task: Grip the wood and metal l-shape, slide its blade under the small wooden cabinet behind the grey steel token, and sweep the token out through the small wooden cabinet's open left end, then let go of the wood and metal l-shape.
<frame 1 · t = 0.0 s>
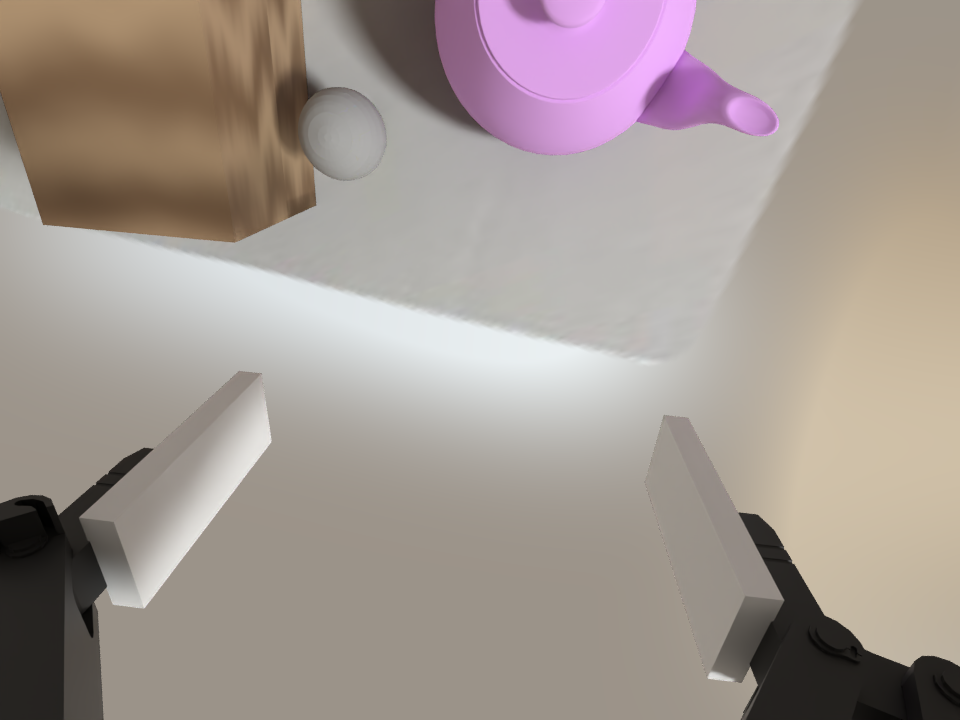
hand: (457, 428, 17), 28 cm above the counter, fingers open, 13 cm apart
light bulb: (374, 130, 39), on the counter
teapot: (568, 37, 35), on the counter
small wooden cabinet: (230, 90, 38), on the counter
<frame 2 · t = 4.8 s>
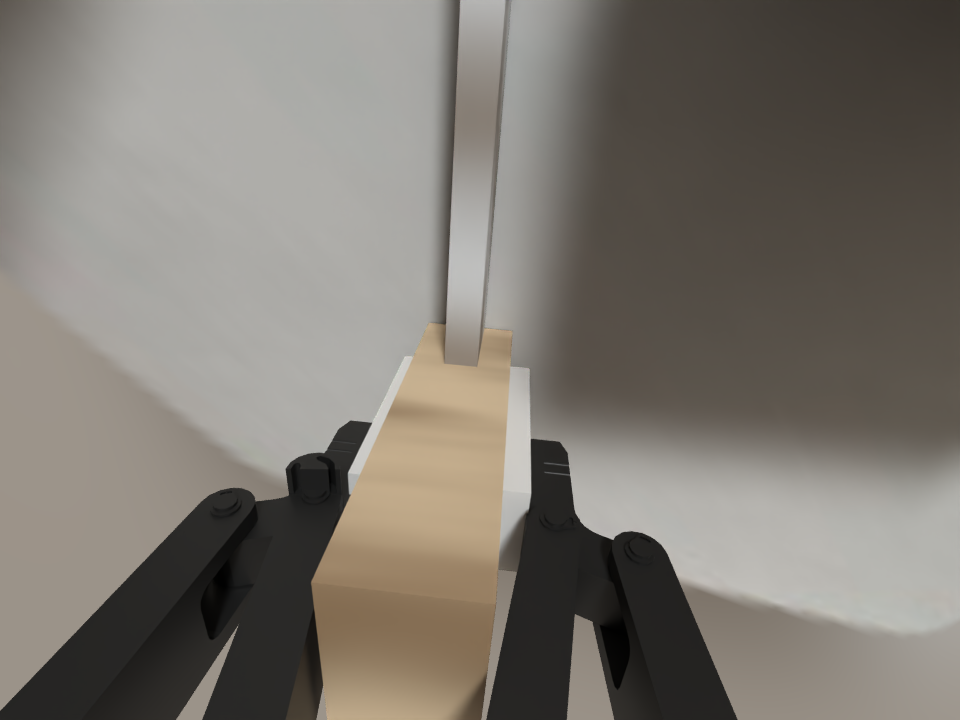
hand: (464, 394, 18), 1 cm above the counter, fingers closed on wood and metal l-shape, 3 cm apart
wood and metal l-shape: (466, 387, 19), on the counter, touching gripper
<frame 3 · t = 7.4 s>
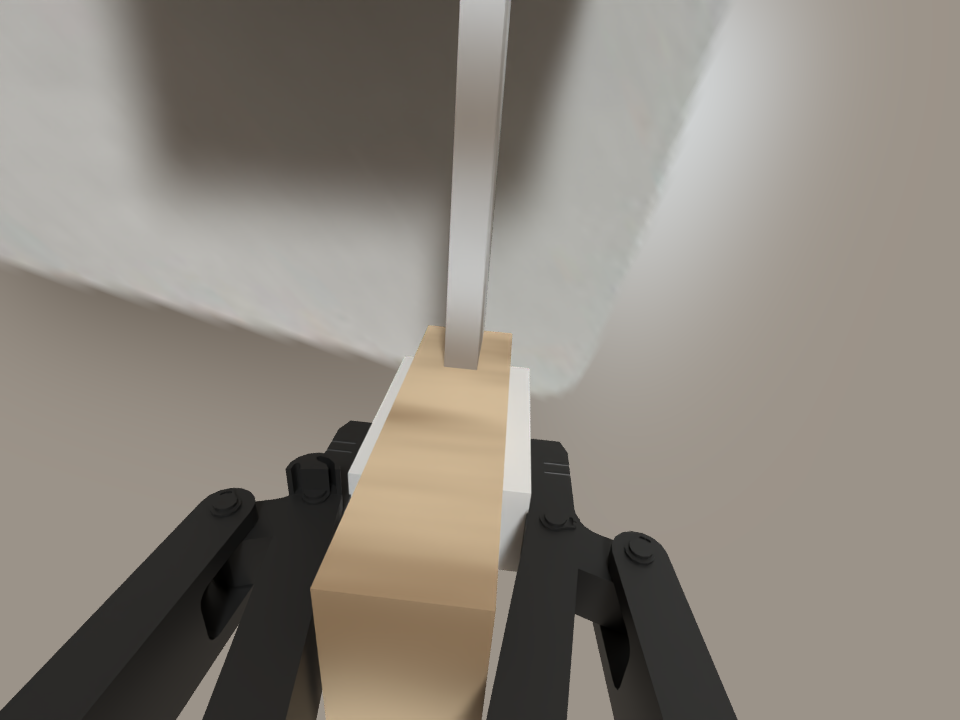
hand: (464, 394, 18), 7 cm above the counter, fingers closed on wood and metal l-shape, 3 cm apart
wood and metal l-shape: (466, 389, 19), point 6 cm above the counter, touching gripper
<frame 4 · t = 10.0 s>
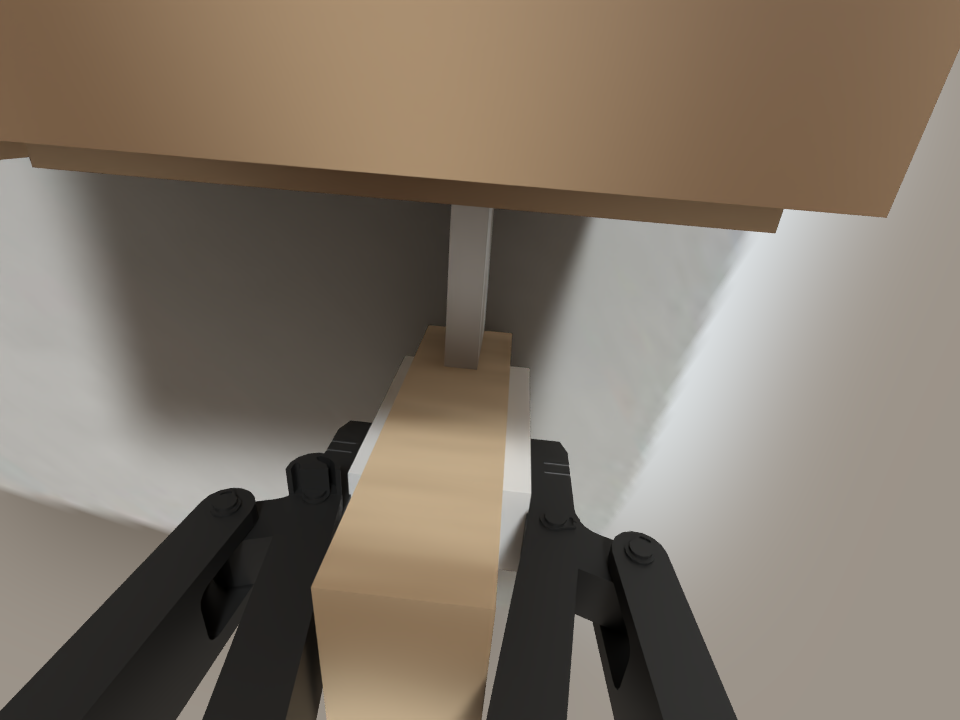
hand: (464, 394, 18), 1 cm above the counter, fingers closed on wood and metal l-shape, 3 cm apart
wood and metal l-shape: (466, 389, 19), point 1 cm above the counter, touching gripper
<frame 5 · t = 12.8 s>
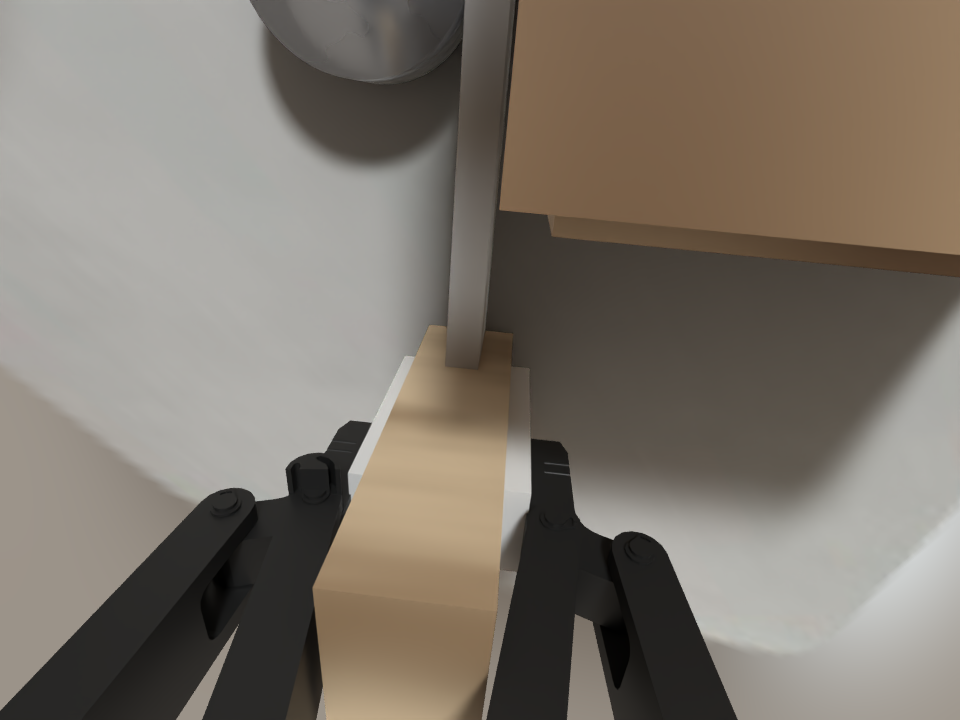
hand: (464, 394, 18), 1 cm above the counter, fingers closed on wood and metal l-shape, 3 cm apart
wood and metal l-shape: (466, 389, 19), point 1 cm above the counter, touching gripper
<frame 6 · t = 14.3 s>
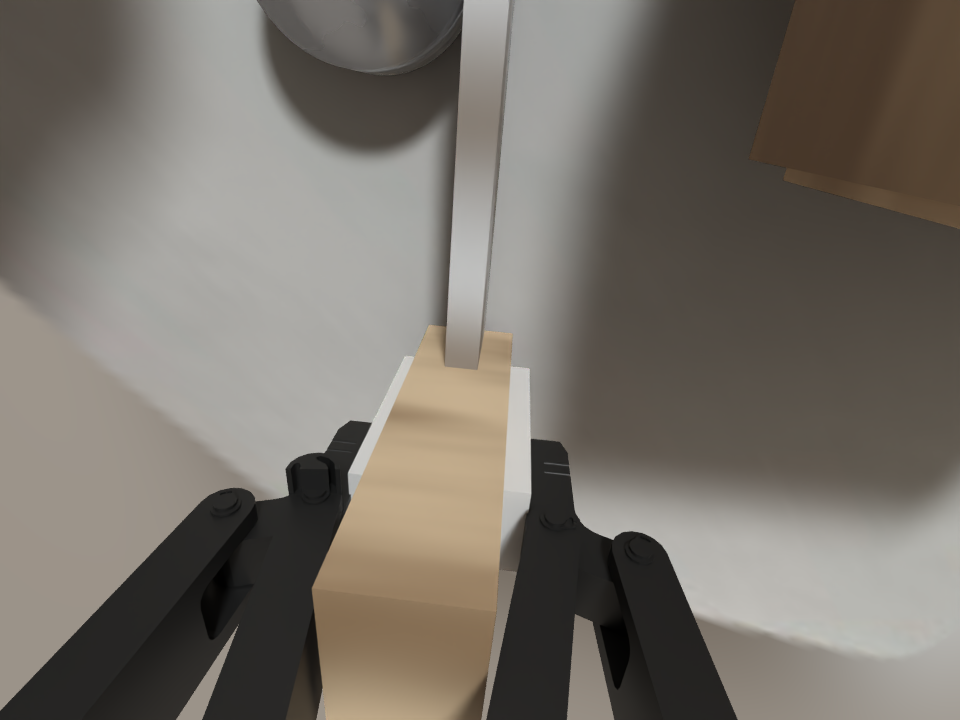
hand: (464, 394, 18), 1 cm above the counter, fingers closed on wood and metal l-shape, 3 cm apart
wood and metal l-shape: (466, 389, 19), point 1 cm above the counter, touching gripper
when the fingers open (2 cm above the counter, at t = 15.2 s): wood and metal l-shape drops 1 cm, on the counter.
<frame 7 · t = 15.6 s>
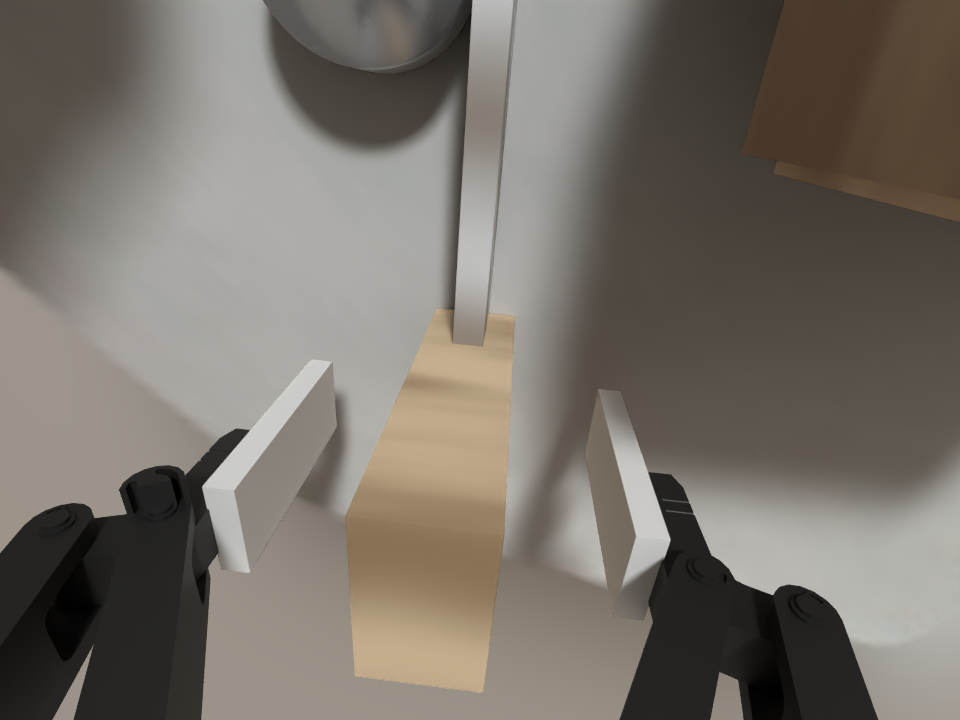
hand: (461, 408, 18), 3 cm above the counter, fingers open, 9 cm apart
wood and metal l-shape: (471, 369, 20), on the counter
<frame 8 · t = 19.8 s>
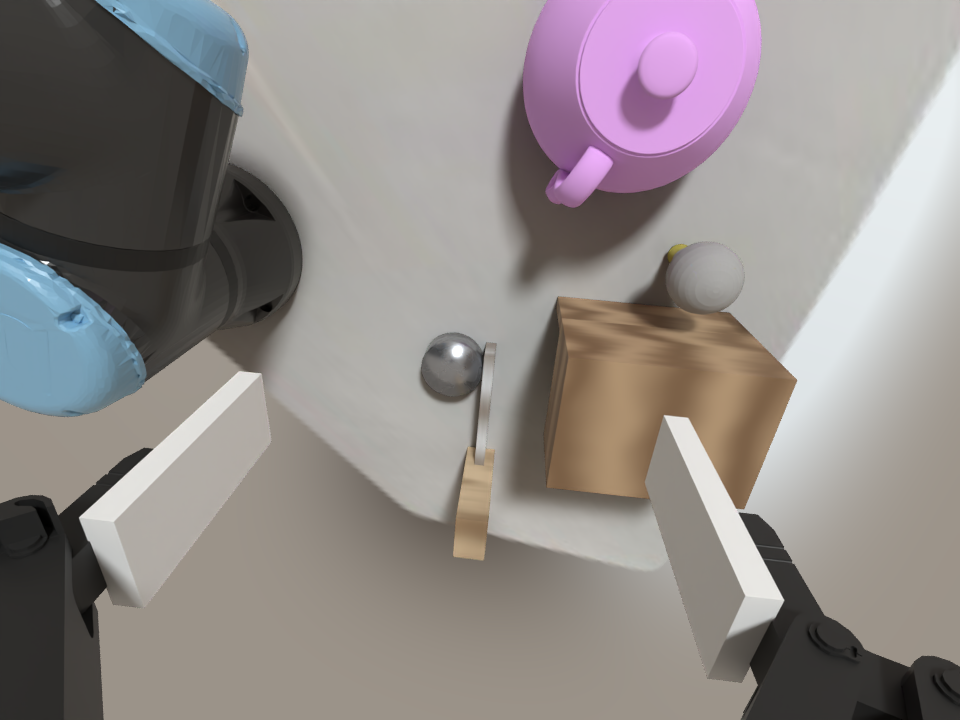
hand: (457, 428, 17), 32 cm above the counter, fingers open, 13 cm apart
light bulb: (677, 253, 45), on the counter
teapot: (631, 67, 39), on the counter
small wooden cabinet: (630, 361, 50), on the counter
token: (454, 358, 51), on the counter
wood and metal l-shape: (479, 465, 57), on the counter
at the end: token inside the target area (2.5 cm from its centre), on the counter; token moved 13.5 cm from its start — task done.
